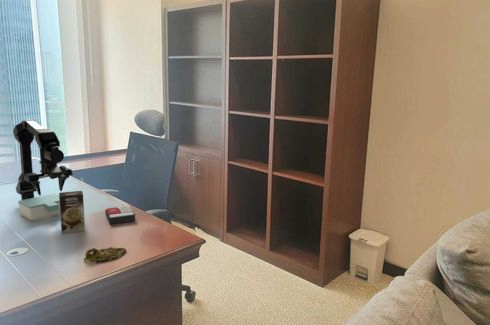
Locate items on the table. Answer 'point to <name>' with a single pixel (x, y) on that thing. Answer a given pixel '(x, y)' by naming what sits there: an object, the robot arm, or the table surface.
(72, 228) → the coffee box
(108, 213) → the black box
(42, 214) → the tub
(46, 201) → the lid
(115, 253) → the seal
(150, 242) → the table surface
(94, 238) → the table surface
